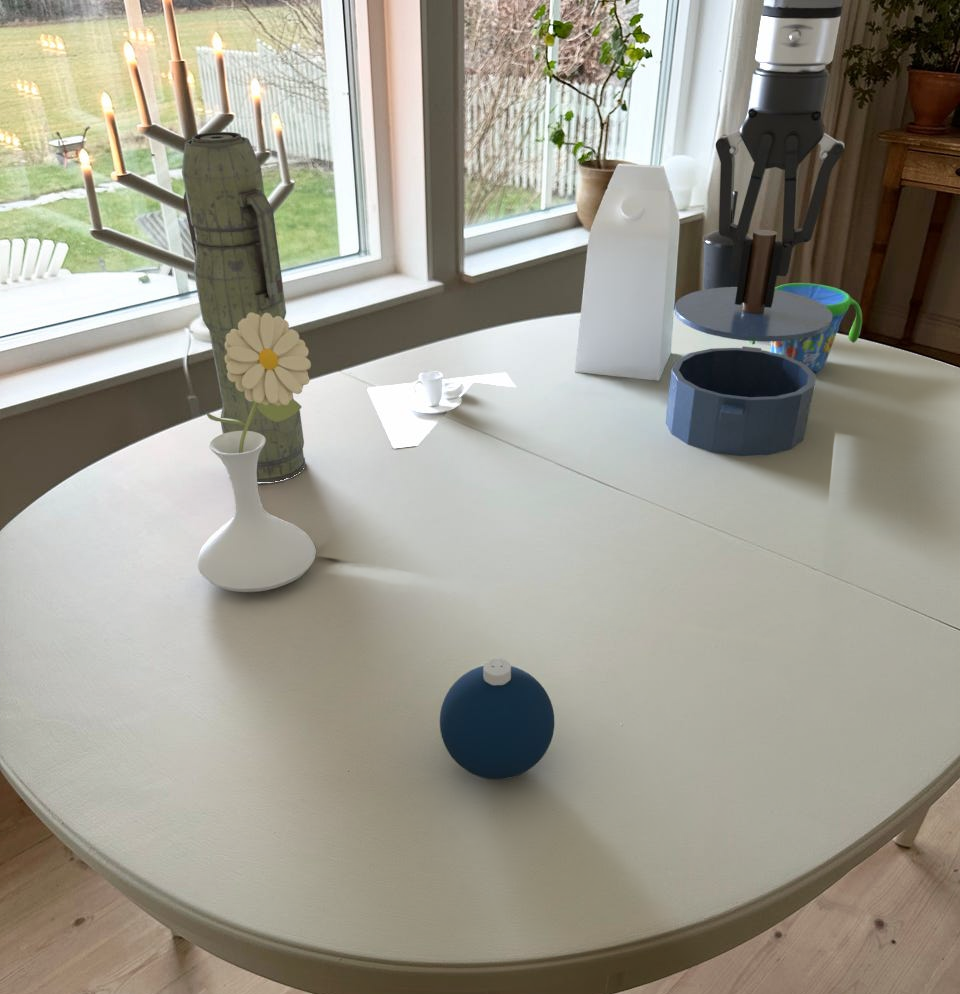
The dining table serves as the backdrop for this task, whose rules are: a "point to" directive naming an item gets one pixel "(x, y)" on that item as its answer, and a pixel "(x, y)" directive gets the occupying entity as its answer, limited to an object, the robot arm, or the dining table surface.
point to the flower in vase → (252, 531)
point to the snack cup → (819, 346)
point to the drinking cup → (719, 258)
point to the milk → (630, 277)
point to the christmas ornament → (497, 721)
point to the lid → (754, 305)
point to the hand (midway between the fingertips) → (754, 302)
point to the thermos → (237, 276)
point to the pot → (739, 401)
